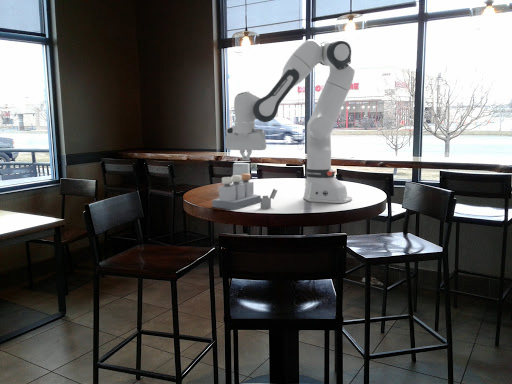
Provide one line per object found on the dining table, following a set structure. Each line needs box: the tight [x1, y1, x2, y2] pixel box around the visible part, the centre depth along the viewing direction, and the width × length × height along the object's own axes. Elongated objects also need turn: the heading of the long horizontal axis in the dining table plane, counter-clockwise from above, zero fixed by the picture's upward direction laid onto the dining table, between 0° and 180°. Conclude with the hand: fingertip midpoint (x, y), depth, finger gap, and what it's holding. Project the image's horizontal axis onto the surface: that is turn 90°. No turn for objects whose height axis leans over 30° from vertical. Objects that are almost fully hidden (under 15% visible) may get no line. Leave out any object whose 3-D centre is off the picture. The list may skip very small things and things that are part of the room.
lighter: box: [260, 188, 278, 209], centre depth 188 cm, size 7×2×8 cm, turn 105°
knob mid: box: [231, 174, 242, 185], centre depth 196 cm, size 4×4×9 cm
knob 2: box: [241, 173, 252, 183], centre depth 201 cm, size 4×4×9 cm
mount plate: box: [211, 181, 262, 211], centre depth 196 cm, size 12×20×9 cm, turn 147°
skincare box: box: [232, 162, 251, 184], centre depth 233 cm, size 8×6×15 cm
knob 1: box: [221, 176, 233, 187], centre depth 190 cm, size 4×4×9 cm
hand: (246, 160), depth 200 cm, fingers closed
